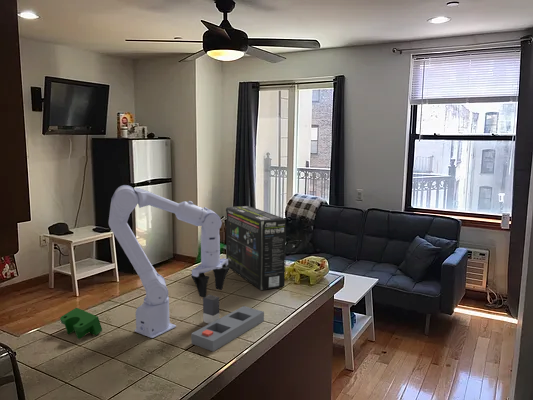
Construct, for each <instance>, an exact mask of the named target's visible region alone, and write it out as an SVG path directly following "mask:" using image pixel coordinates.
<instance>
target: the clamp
mask: <svg viewBox="0 0 533 400" xmlns="http://www.w3.org/2000/svg"><path fill="white" fill-rule="evenodd" d="M59 318H60V319H59V320H60V323H61V325H64V326H65V330H66V332H67V334H68V335H71V334H72V333H74V332H75V335H76V339H78V340H80V339H81V338H83V337H85V336H86V335H87V334H91V335H93V336H97V335H98V334H100V333H102V331H103V328H102V324H101V322H100V319H99V316H97V315H95V314H93V313H90V312H88V311H86V310H83V309H80V308H78V307H75V308H73V309H72V310H70V311H68V312H67V313H65V314H63V315H62V316H60V317H59Z"/></svg>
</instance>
